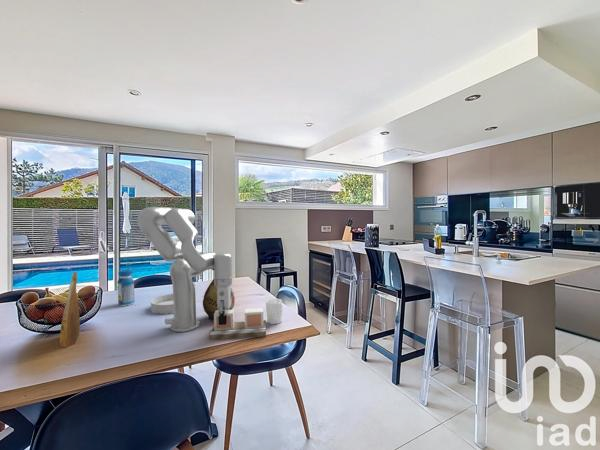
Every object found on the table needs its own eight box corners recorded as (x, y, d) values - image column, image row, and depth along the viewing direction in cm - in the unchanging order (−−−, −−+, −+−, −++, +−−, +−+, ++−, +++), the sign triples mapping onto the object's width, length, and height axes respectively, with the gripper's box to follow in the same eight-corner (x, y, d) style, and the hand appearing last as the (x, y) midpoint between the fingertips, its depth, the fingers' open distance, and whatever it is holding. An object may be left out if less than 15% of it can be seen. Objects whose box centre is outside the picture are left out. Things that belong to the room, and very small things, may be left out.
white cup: (284, 319, 141) (284, 299, 141) (279, 325, 134) (279, 304, 133) (269, 318, 144) (269, 298, 143) (263, 323, 136) (263, 303, 135)
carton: (244, 328, 125) (244, 313, 125) (245, 324, 131) (245, 309, 130) (263, 327, 126) (263, 312, 126) (263, 323, 132) (263, 308, 131)
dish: (200, 301, 173) (200, 293, 172) (182, 314, 151) (181, 305, 151) (165, 301, 175) (164, 293, 175) (141, 314, 153) (141, 304, 153)
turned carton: (214, 330, 124) (213, 314, 124) (216, 325, 129) (215, 310, 129) (233, 329, 125) (232, 313, 125) (234, 324, 130) (234, 309, 130)
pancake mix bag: (85, 330, 132) (82, 269, 130) (78, 346, 115) (75, 277, 114) (66, 333, 128) (63, 271, 127) (57, 351, 112) (53, 279, 111)
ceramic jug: (226, 324, 136) (225, 261, 135) (197, 322, 140) (195, 260, 138) (241, 311, 153) (239, 255, 152) (214, 310, 156) (212, 255, 155)
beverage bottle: (129, 306, 165) (127, 271, 164) (114, 306, 165) (113, 271, 164) (137, 301, 173) (136, 268, 173) (124, 301, 174) (122, 268, 173)
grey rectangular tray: (209, 340, 119) (209, 332, 119) (215, 327, 132) (215, 320, 132) (265, 336, 122) (265, 329, 122) (265, 324, 135) (265, 317, 135)
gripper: (229, 286, 118) (230, 327, 119) (234, 276, 135) (235, 313, 136) (210, 287, 117) (211, 328, 118) (217, 277, 134) (218, 313, 135)
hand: (224, 320), depth 127 cm, fingers open, 9 cm apart
